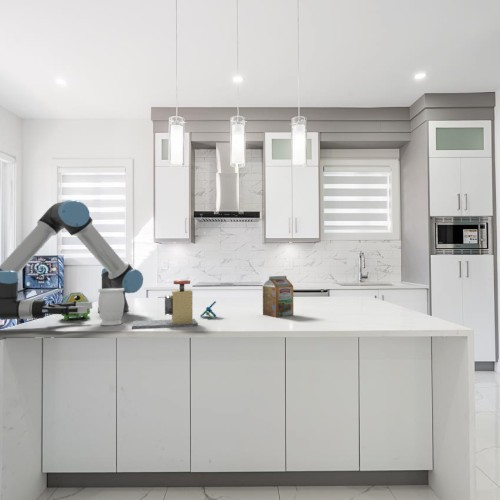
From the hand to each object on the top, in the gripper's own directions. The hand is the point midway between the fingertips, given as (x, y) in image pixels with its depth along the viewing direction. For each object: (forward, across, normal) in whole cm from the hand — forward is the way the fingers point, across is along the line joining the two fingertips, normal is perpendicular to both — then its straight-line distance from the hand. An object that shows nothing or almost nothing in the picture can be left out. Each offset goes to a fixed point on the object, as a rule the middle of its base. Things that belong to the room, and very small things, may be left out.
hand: (89, 307), depth 163 cm
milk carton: (+85, -7, -8) cm, 85 cm away
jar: (+9, 0, -8) cm, 11 cm away
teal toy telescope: (+51, -9, -8) cm, 52 cm away
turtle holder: (-8, -19, -8) cm, 22 cm away
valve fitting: (+32, +7, -7) cm, 33 cm away
